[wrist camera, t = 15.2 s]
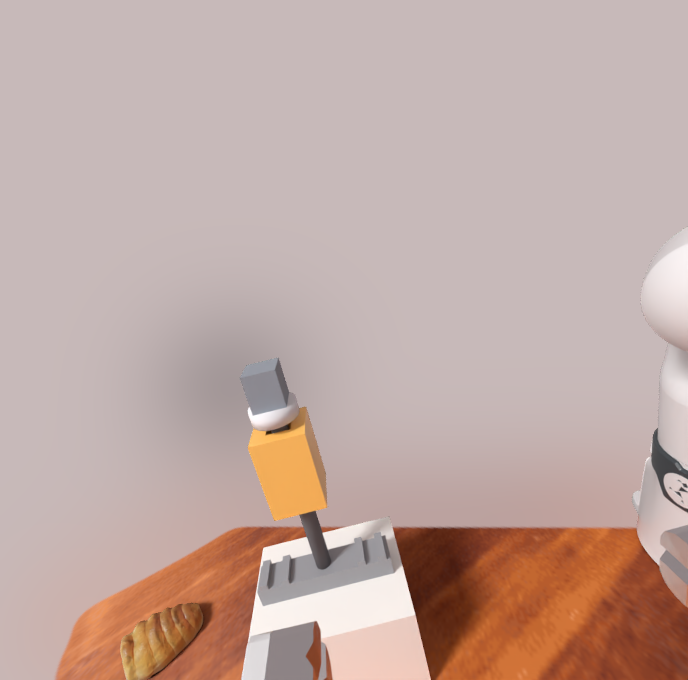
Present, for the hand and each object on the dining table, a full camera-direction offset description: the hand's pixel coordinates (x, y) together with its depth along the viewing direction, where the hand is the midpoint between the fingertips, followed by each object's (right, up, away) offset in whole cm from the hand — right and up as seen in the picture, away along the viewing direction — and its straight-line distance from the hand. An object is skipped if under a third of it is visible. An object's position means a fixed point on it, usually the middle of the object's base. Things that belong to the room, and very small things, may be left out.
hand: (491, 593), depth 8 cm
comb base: (-3, -29, +33) cm, 44 cm away
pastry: (-27, -34, +38) cm, 57 cm away
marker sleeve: (-8, -9, +27) cm, 30 cm away
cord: (-5, -20, +30) cm, 36 cm away
